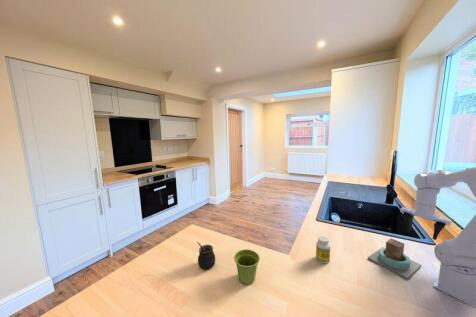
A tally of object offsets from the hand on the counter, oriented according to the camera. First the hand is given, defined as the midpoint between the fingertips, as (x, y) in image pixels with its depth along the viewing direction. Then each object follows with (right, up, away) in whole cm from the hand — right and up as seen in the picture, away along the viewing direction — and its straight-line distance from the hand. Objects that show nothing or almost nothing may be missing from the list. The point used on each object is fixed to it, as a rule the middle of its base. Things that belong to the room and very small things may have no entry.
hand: (421, 234), depth 75 cm
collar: (-13, -11, -1) cm, 17 cm away
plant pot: (-74, -14, -8) cm, 75 cm away
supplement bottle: (-41, -12, +1) cm, 43 cm away
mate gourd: (-90, -13, -1) cm, 91 cm away
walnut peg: (-13, -10, -2) cm, 17 cm away
